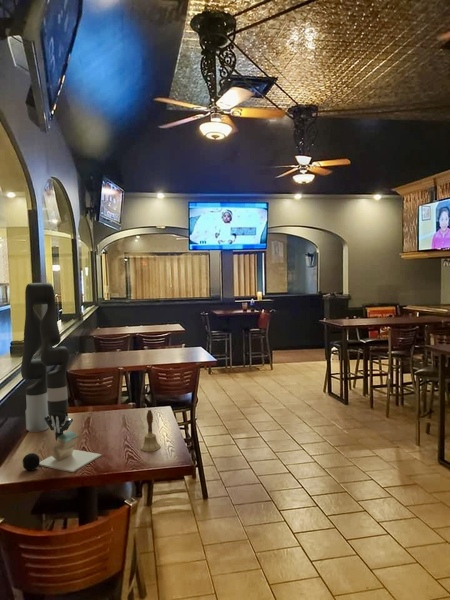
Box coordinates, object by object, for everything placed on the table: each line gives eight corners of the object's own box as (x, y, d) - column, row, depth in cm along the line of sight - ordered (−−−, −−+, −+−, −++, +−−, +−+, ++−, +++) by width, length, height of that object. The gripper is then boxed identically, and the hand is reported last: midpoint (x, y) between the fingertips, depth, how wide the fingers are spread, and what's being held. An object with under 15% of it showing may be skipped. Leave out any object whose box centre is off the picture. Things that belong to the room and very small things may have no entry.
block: (51, 456, 179) (57, 436, 177) (64, 449, 185) (70, 430, 183) (59, 461, 178) (65, 442, 176) (71, 454, 184) (78, 435, 182)
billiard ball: (21, 468, 174) (20, 453, 173) (38, 464, 177) (37, 449, 176) (24, 474, 168) (23, 458, 168) (41, 470, 172) (40, 454, 171)
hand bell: (164, 445, 193) (162, 407, 192) (154, 452, 186) (153, 414, 184) (146, 443, 196) (145, 406, 195) (136, 450, 188) (135, 412, 187)
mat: (36, 465, 176) (36, 463, 176) (66, 449, 191) (66, 448, 191) (73, 472, 169) (73, 470, 169) (101, 455, 184) (101, 454, 184)
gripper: (37, 398, 179) (39, 442, 180) (63, 402, 174) (65, 446, 175) (51, 393, 186) (54, 435, 187) (77, 396, 181) (79, 439, 182)
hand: (59, 441), depth 181 cm, fingers closed
